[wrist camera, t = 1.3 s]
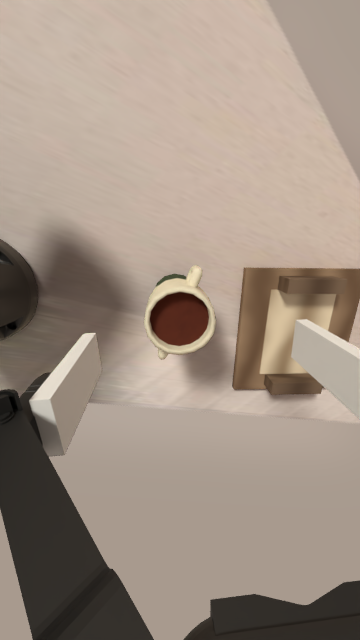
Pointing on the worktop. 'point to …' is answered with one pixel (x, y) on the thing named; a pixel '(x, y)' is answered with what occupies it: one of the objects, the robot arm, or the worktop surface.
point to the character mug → (179, 315)
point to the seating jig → (289, 323)
